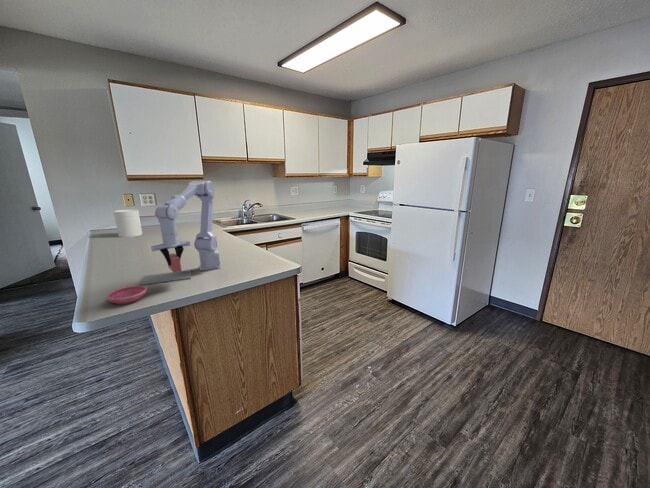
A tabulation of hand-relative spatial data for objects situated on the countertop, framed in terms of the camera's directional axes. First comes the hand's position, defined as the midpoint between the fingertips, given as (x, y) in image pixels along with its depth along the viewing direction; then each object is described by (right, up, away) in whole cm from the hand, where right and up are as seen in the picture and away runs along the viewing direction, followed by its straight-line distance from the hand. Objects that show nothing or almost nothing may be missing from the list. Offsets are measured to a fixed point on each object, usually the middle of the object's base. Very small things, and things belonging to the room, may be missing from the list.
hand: (174, 264), depth 115 cm
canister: (-93, +16, +101) cm, 138 cm away
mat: (-8, -7, +8) cm, 14 cm away
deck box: (0, -2, 0) cm, 2 cm away
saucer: (-10, -13, -13) cm, 21 cm away
